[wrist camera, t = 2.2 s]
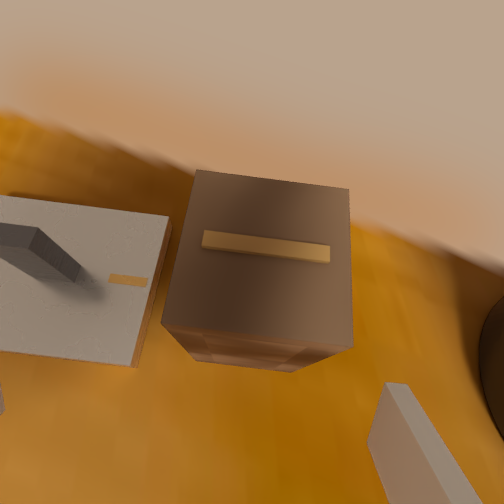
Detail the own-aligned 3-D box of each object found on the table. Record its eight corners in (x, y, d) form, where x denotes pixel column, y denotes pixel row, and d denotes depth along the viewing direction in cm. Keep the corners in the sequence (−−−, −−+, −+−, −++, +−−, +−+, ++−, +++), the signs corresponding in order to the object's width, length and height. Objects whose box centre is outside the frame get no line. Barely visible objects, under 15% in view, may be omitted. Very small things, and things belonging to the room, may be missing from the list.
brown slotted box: (295, 282, 22) (350, 186, 12) (291, 372, 20) (355, 345, 10) (211, 272, 22) (195, 166, 12) (196, 360, 20) (159, 321, 9)
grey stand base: (172, 227, 23) (152, 169, 18) (137, 368, 19) (96, 355, 13) (12, 206, 23) (-62, 142, 17) (-60, 344, 19) (-189, 320, 13)
